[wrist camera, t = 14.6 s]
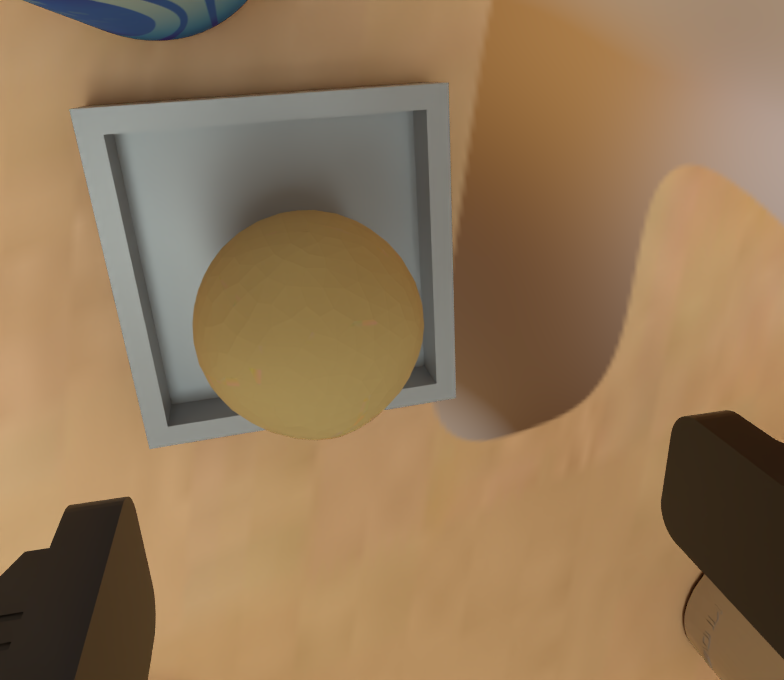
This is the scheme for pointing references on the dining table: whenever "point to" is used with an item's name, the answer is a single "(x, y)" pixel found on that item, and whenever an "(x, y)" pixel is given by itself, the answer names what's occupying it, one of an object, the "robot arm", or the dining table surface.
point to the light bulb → (308, 324)
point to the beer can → (146, 15)
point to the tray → (261, 217)
